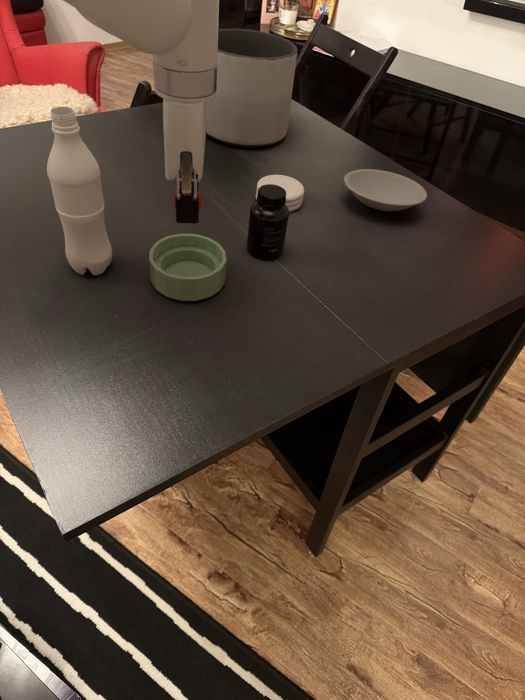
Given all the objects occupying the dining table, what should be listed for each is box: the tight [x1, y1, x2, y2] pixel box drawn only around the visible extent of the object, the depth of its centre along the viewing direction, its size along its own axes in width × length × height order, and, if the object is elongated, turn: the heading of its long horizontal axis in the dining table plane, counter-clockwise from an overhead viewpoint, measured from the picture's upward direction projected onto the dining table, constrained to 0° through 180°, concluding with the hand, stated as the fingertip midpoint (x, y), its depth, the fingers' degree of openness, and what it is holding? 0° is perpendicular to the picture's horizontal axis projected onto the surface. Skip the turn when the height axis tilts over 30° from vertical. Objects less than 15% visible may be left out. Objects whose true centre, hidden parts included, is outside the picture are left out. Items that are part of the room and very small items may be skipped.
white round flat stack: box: [255, 174, 305, 213], centre depth 100 cm, size 10×10×4 cm
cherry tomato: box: [173, 185, 203, 211], centre depth 69 cm, size 4×4×4 cm
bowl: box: [148, 233, 227, 302], centre depth 79 cm, size 12×12×5 cm
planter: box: [206, 28, 298, 149], centre depth 116 cm, size 23×23×20 cm
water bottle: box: [46, 106, 113, 276], centre depth 71 cm, size 7×7×25 cm
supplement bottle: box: [246, 184, 290, 261], centre depth 84 cm, size 7×7×12 cm
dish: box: [343, 168, 428, 212], centre depth 102 cm, size 18×14×5 cm
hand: (187, 212), depth 71 cm, fingers closed on cherry tomato, 3 cm apart
